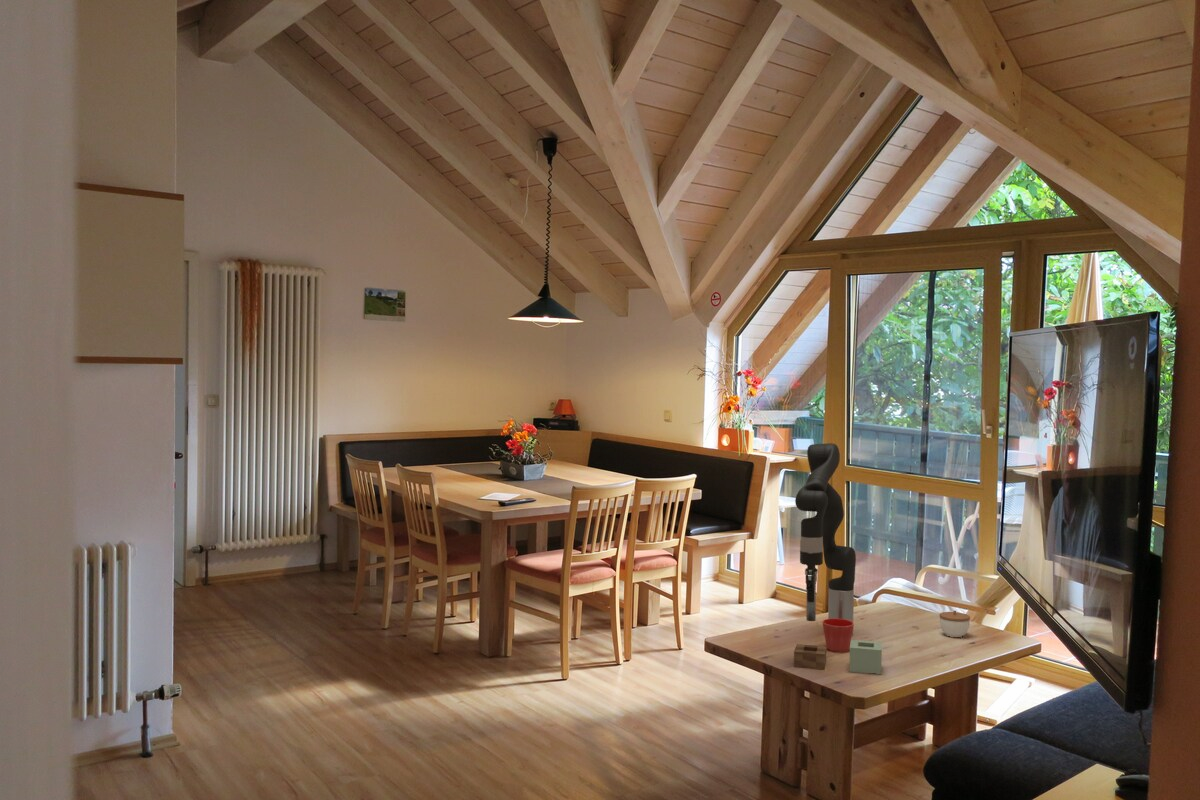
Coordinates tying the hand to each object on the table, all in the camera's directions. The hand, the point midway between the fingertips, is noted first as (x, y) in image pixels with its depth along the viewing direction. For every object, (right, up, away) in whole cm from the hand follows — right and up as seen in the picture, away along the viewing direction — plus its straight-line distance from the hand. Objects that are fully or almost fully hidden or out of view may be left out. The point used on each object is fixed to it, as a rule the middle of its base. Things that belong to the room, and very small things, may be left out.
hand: (811, 600), depth 319 cm
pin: (0, -7, 0) cm, 7 cm away
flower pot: (+14, -21, +18) cm, 31 cm away
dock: (+17, -22, -5) cm, 28 cm away
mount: (0, -21, 0) cm, 21 cm away
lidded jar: (+62, -21, +37) cm, 75 cm away
